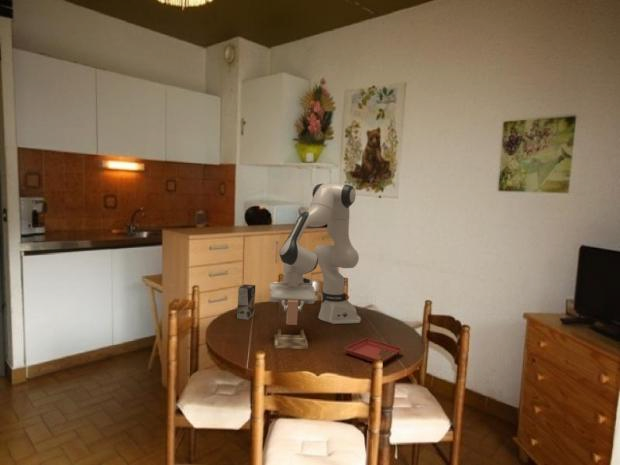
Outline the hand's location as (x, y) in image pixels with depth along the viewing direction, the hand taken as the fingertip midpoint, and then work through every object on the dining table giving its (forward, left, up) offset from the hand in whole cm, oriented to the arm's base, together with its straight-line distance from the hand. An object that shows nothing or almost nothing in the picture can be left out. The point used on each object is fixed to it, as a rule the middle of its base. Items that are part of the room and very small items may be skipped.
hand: (292, 310), depth 177 cm
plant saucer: (-34, +10, -15) cm, 39 cm away
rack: (0, -1, -15) cm, 15 cm away
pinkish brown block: (0, -1, -6) cm, 6 cm away
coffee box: (+22, -36, -15) cm, 45 cm away
